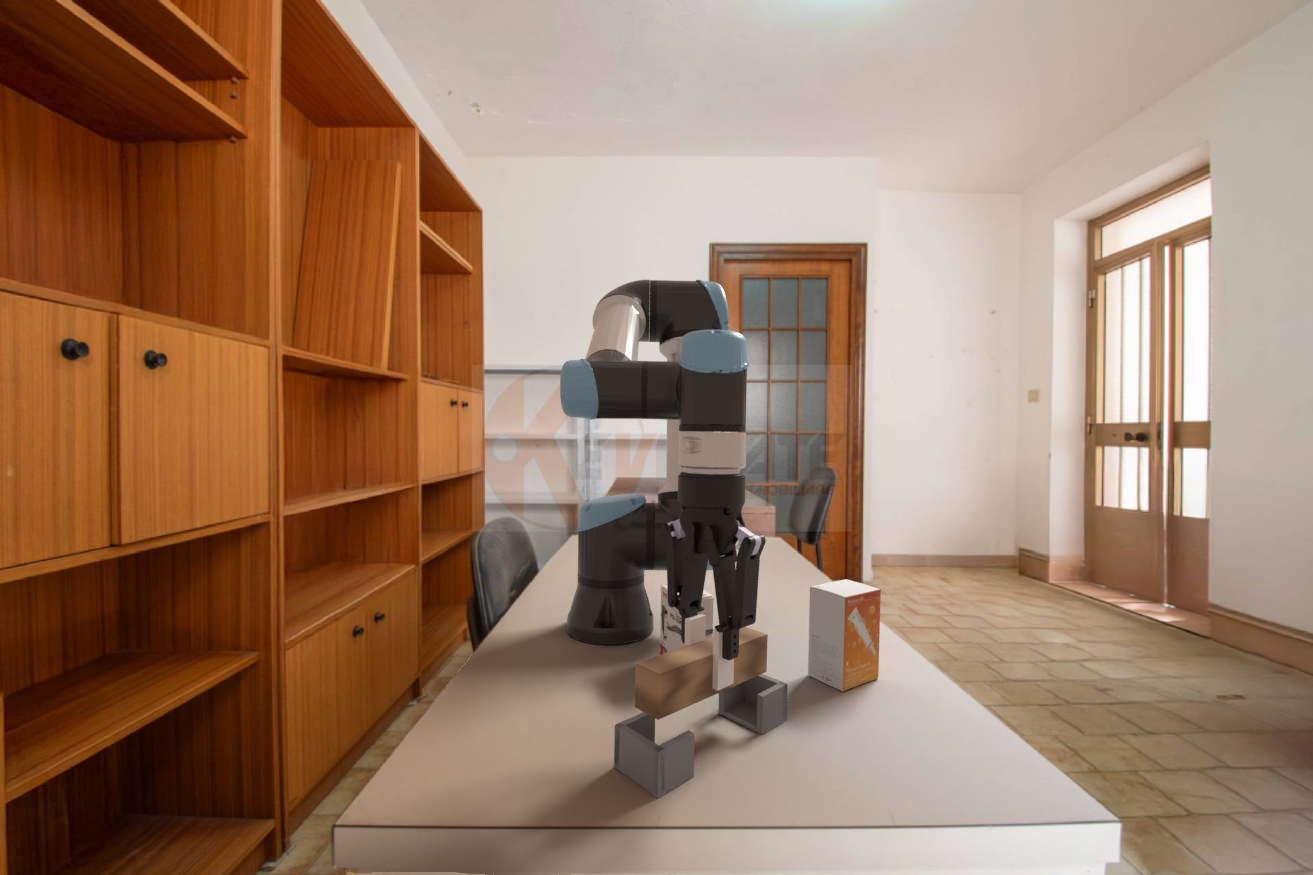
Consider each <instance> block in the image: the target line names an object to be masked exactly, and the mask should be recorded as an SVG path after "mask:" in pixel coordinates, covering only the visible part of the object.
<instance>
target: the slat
mask: <svg viewBox="0 0 1313 875" xmlns="http://www.w3.org/2000/svg"><path fill="white" fill-rule="evenodd" d="M768 638H769V637H768V634H767V633H765V632H762V631H759V630H757V629H756V630H755V629H752V628H751V627H748V626H746V627H743V628H740V630H739V654H738V657H736V658H734V684H731V685H729V686H727V687H725V688H723V689H721V690H719V691H717V690H714V689H712V683H713V637H712V638H709V639H706V640H703V641H700V642H697V643H694V644H691V645H688V646H685V647H682V648H679V649H676V650H673V651H670V652H667V653H664V654H661V655H660V654H659V655H656V656H653V657H649V658H647V659H643V660H640V661H638V662H635V683H634V684H635V685H634V686H635V687H634V690H635V691H634V708H636V709H638V710H640V711H641V712H645V713H647V714H648V715H650V716H652V717H654V718H655V720H657V721H660V720H661V719H663V718H665V717H668V716H670V715H672V714H674V713H677V712H679V711H681V710H684V709H686V708H688V707H690V706H693V705H695V704H697V703H700V702H702V701H703V700H707V699H709V698H711V697H713V696H715V695H717V694H718V695H719V693H720V692H722V691H724V690H727V689H729V688H731V687H733V686H736V685H738V684H740V683H742V682H745V681H747V680H749V679H751V678H754V677H756V676H758V675H760V674H765V673H766V672H767V668H768V667H767V666H768V665H767V664H768V663H767V662H768Z"/></svg>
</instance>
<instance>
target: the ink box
mask: <svg viewBox="0 0 1313 875" xmlns="http://www.w3.org/2000/svg"><path fill="white" fill-rule="evenodd" d="M660 588H661V589H660V632H659V634H660V636H659V637H660V639H659V655H661V654H664V653H667V652H670V651H673V650H676V649H679V648H682V647H685V643H682V639H681V633H682V632H681V630H682V629H681V620H682V617H681V615H680V614H679V610H677V609H676V608H675V607H670V606H669V604H668V589H667V583H666V584H661V585H660ZM678 595H679V593H678ZM714 600H715V598H714V596H713V594H712V593H710V592H709V591H707V590H705V589H703V596H702V602H701V606H702V607H703V608H705V609H704V610H703V611H701V612H698V613H697V615H699V614H703V615H706V636H705V640H706V639H709V638H712V637H713V629H714V607H715V606H714V602H715V601H714Z"/></svg>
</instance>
